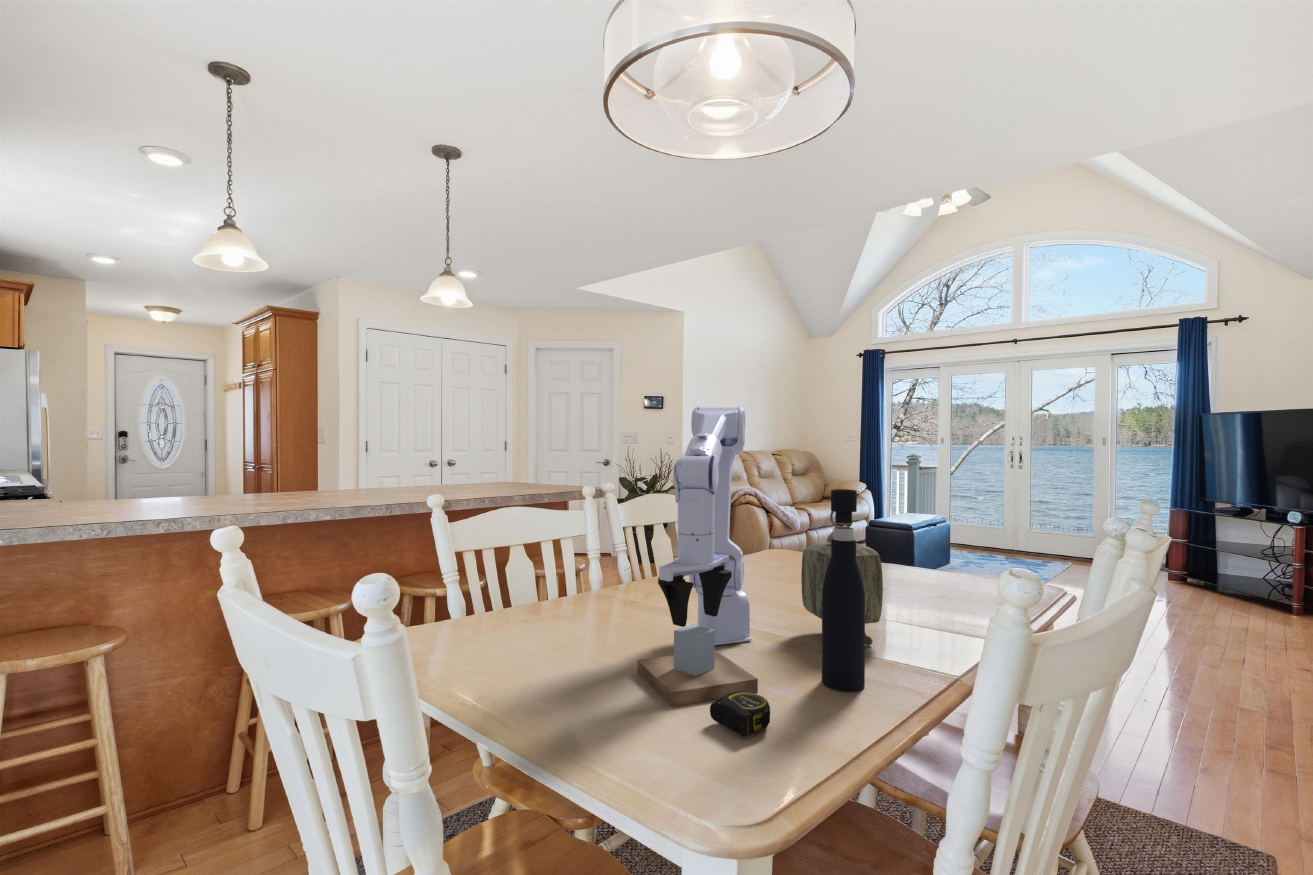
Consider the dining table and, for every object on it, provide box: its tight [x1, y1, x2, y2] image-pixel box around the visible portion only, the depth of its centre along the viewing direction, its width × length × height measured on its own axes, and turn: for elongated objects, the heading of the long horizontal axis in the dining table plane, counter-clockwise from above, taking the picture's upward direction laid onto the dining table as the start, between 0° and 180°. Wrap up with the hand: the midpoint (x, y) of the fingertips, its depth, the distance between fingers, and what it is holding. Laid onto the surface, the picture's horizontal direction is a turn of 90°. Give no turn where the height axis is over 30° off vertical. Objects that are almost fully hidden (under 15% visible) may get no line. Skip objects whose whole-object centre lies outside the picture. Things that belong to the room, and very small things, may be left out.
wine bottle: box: [821, 488, 866, 693], centre depth 98 cm, size 6×6×30 cm
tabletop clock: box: [800, 510, 884, 646], centre depth 121 cm, size 14×9×25 cm, turn 17°
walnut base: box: [636, 649, 759, 707], centre depth 98 cm, size 14×14×2 cm
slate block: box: [673, 624, 716, 676], centre depth 98 cm, size 4×4×6 cm
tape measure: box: [709, 692, 771, 738], centre depth 83 cm, size 7×7×4 cm
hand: (695, 619), depth 98 cm, fingers open, 7 cm apart
